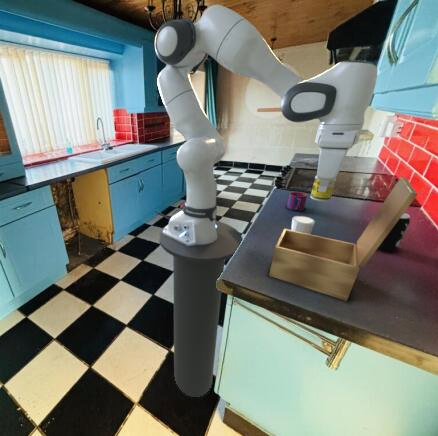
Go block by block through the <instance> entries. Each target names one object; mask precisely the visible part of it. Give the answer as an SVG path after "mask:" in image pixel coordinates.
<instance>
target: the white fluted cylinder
mask: <svg viewBox="0 0 438 436" xmlns="http://www.w3.org/2000/svg"><path fill="white" fill-rule="evenodd" d="M315 223H316V221H315V220H314V219H313V218H311V217H309V216H305V215H295V216H293V217H292V220H291V226H290V227H291V228H290V230H293V231H297V232H302V233H307V234H311V233H312V231H313V228H314V226H315Z"/></svg>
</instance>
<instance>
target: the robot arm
mask: <svg viewBox="0 0 438 436" xmlns="http://www.w3.org/2000/svg"><path fill="white" fill-rule="evenodd" d="M154 50H155V53H156V56H157V58H158V59H159V60H160V61H161V62H162V63H164V64H166V65H165V67H164V68H162V70H160V72H159V74H158V75H157V78H156V79H157V80H156V81H157V82H156V83H157V87H158V91H159V96H160V97H161V100H162V103H163V106H164V107H165V110H166V112H167V115H168V117H169V119H170V121H171V124H172V125H173V128H174V130H175V131H177V132H178V133H179V134H181V136H182V137H183V138H184V139H185V140H186V141H185V142H183V143H182V145H180V147H178V150H177V152H176V161H177V164H178V166H179V168H180V169H181V170H182V172H183V175H184V178H185V185H186V200H185V201H184V202H182V204H181V205H180V209H181V210H180V211H178V212H174V213H173V215H172V216H171V217H169V216H167V215H165V214H164V213H161V212H160V211H158V210H155V213H156V214H158V215H159V216H160V217H161V216H162V217H163V218H165V219H167V220H168V224H167V225H165V226H166V227H165V226H164V227H165V228H164V227H163V228H164V229H163V228H162V229H163V234H164V235H166V236H168V237H170V238H172V239H175V240H177V241H179V242H181V243H183V244H185V245H188V246H194V245H203V244H209V243H212V242H214V241H216V240H217V238H218V236H217V232H216V228H217V226H216V224H215V221H216V218H217V214H218V210H217V209H218V204H217V194H218V183H217V181H216V179H215V174H214V166H215V164H217V163H219V162H220V161H221V160H222V159H223V157H224V156H225V154H226V152H227V148H228V145H227V140H226V139H225V138H224V137H223V136H222V135H220V133H219V132H218V130H217V128H216V127H215V126H214V124H213V123H212V121H211V120H210V119H209V117H208V116H207V113H206V112H205V110H204V107H203V105H202V103H201V101H200V98H199V97H198V94H197V92H196V90H195V87H194V86H193V83H192V80H191V75H194V74H196V72H197V71H198V69H199V68H200V67H201V66H202V65H203V64H204V63H205V62H206V61H207V58H209V57H208V56H210V58H212V59H213V60H214V61H216V62H217V63H218V64H219V65H220V66H222V67H223V68H224V69H226V70H228V71H230V72H232V73H233V74H236V75H238V76H243V77H247V78H250V79H253V80H256V81H258V82H260V83H262V84H263V85H264V86H266V87H267V88H269V89H270V90H271V91H272V92H274V94H276V95H277V96H278V97H279V98H281V103H280V112H281V114H282V115H283V117H284V118H285V119H286V120H288V121H290V122H292V123H300V124H301V123H305V122H309V121H314V120H319V121H318V126H317V131H316V135H315V137H314V138H315V139H314V143H315V144H317V147H318V150H319V153H318V161H317V168H316V176H317V179H319V180H320V183H319V188H318V191H319V192H326V190H327V186H328V184H329V182H330V181H334V180H335V178H336V179H337V177H338V174H339V172H340V171H341V167H342V165H343V164H344V161H345V158H346V157H347V154H348V152H349V151H350V149H352V148H353V146H354V145H358V143H359V140H360V138H361V137H360V136H361V133H362V131H363V127H364V124H365V114H366V111H367V109H368V107H369V106H370V104H371V101H372V99H373V96H374V92H375V88H376V84H377V79H378V67H377V66H376V65H375V64H374V62H371V61H367V60H359V59H351V60H349V59H348V60H342V61H339V62H338V63H336V64H335V65H334V66H332V67H331V68H330V69H327V70H326V71H324V72H322V73H320V74H318V75H316V76H314V77H311V78H309V79H306V80H305V79H304V78H302V77H300V76H299V75H298V74H297V73H295V71H292V70H291V69H290V68H289V67H287V66H286V65H285V64H284V63H282V61H280V60H279V59H278V57H277V56H276V55H275V53H274V51H273V50H272V48H271V47H270V46H269V45H268V43H267V41H266V40H265V38H264V37H263V36H262V34H261V33H260V32H259V30H258V29H257V28H256V27H255V25H254V24H252V23H251V22H250V21H249V20H248V19H247V18H245V17H244V16H242V14H240V13H238V12H237V11H234V9H230V8H228V7H227V6H224V5H221V4H213V5H211V6H209V7H208V8H206V9H205V11H204V12H203V14H202V15H201V17H200V18H199V19H198V21H197V22H193V20H192V19H191V18H187V19H184V18H183V19H172V20H168V21H165V22H164V23H162V25H161V26H160V27H159V28H158V29H157V31H156V34H155V37H154Z"/></svg>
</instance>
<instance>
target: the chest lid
mask: <svg viewBox="0 0 438 436" xmlns="http://www.w3.org/2000/svg"><path fill="white" fill-rule="evenodd" d="M418 195H419V194H418V192H417V191H416V189H415V188H414V186H412V184H411V183H410V181H409V180H408V179H407V177H404V176H400V177H399V179H398V180H397V182H396V183H395V185H394V186H393V188H392V190H391V191H390V192H389V194H388V196H387V197H386V198H385V200H384V201H383V203H381V206H380V207H379V208H378V210H377V211H376V213H375V214H374V216H373V217H372V219H371V221H370V222H369V223H368V225H367V226H366V228H365V229H364V231H363V233H361V235H360V236H359V238H358V240H357V241H356V244H357V252H358V266H360V268H364V267H365V266H366V265H367V263H368V262H369V261H370V259H371V258H372V257H373V255H374V254H375V253H376V251H377V250H378V249H377V248H378V247H379V246H380V244H381V243H382V242H383V240H384V239H385V238H386V236H387V235H388V234H389V232H390V231H391V230H392V228H393V227H394V226H395V224H396V223H397V222H398V220H399V219H400V218H401V216H402V215H403V213H405V212H406V211H407V209H409V207H410V206H411V204H412V202H413V201H414V200H415V199H416V198H417V196H418Z"/></svg>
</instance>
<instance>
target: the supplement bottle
mask: <svg viewBox="0 0 438 436" xmlns="http://www.w3.org/2000/svg"><path fill="white" fill-rule="evenodd" d="M336 182H337V177H336V178H335V180H334V181H330V182H329V184H328V186H327V190H326V192H319V191H318V188H319V183H320V180H319V179H317V175H315V177H314V180H313V184H312V188H311V192H310V199H311V200H314V201H318V202H329V201H330V200H332V199H331V198H332V196H333V192H334V189H335V186H336Z"/></svg>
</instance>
